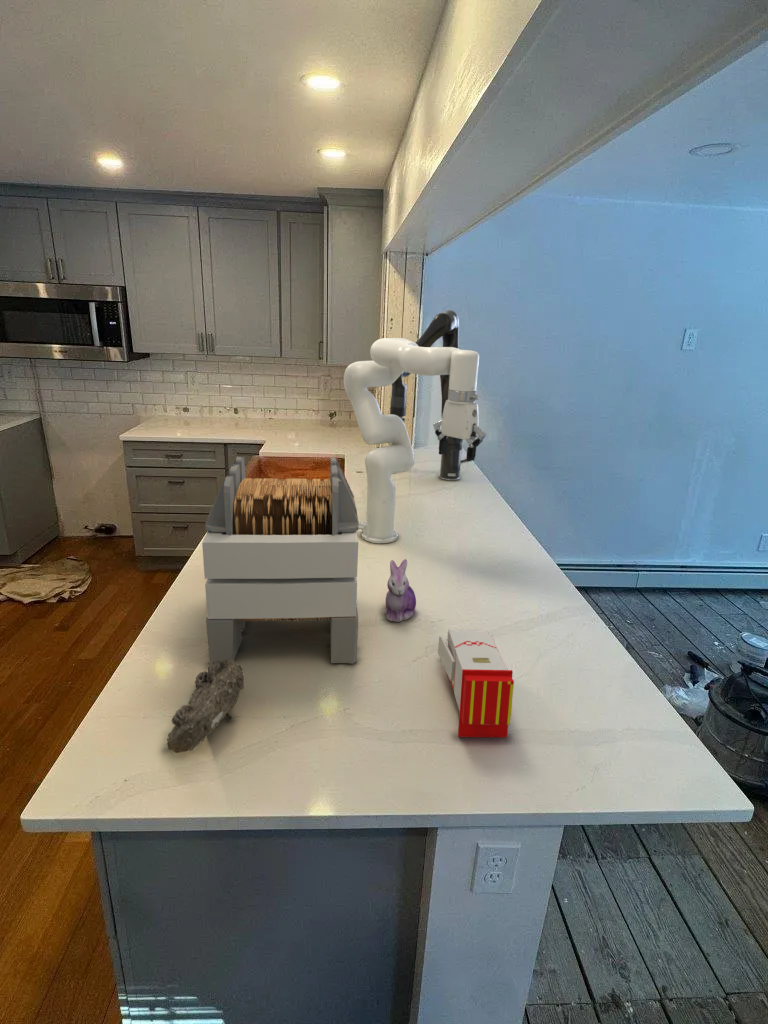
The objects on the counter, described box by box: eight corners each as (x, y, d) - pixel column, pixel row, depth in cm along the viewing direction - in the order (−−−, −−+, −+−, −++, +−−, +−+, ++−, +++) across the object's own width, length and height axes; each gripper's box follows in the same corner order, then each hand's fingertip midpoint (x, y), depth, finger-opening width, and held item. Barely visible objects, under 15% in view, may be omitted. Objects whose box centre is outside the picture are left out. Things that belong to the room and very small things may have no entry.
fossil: (192, 660, 117) (244, 628, 112) (224, 691, 120) (276, 661, 115) (142, 746, 98) (202, 712, 93) (182, 779, 101) (242, 748, 96)
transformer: (229, 593, 154) (221, 446, 140) (350, 592, 157) (353, 448, 144) (206, 668, 122) (192, 488, 108) (358, 664, 126) (363, 489, 112)
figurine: (392, 627, 141) (395, 572, 136) (374, 608, 149) (376, 556, 144) (425, 619, 145) (429, 566, 140) (405, 601, 154) (408, 550, 149)
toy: (488, 613, 130) (523, 677, 101) (484, 667, 133) (517, 744, 104) (435, 612, 130) (455, 676, 101) (432, 666, 133) (451, 743, 103)
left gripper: (495, 399, 153) (489, 461, 159) (444, 391, 164) (440, 449, 170) (480, 402, 148) (473, 465, 154) (428, 393, 159) (424, 453, 165)
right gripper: (399, 408, 261) (397, 444, 266) (411, 404, 273) (408, 439, 279) (385, 406, 263) (383, 442, 269) (396, 402, 276) (394, 437, 282)
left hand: (456, 457), depth 162 cm, fingers open, 9 cm apart
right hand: (396, 440), depth 274 cm, fingers closed on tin, 4 cm apart
